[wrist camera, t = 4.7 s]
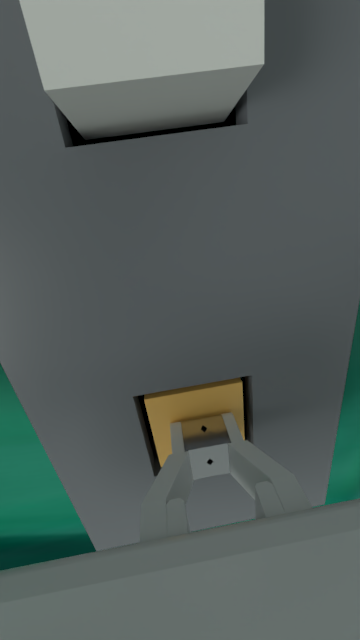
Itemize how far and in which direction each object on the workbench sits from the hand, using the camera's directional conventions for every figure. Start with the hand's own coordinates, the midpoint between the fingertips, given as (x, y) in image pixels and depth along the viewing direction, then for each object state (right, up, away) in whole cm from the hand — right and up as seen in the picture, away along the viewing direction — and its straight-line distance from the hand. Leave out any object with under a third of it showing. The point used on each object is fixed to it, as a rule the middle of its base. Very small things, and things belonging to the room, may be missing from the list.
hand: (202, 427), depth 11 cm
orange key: (-1, +1, +3) cm, 3 cm away
